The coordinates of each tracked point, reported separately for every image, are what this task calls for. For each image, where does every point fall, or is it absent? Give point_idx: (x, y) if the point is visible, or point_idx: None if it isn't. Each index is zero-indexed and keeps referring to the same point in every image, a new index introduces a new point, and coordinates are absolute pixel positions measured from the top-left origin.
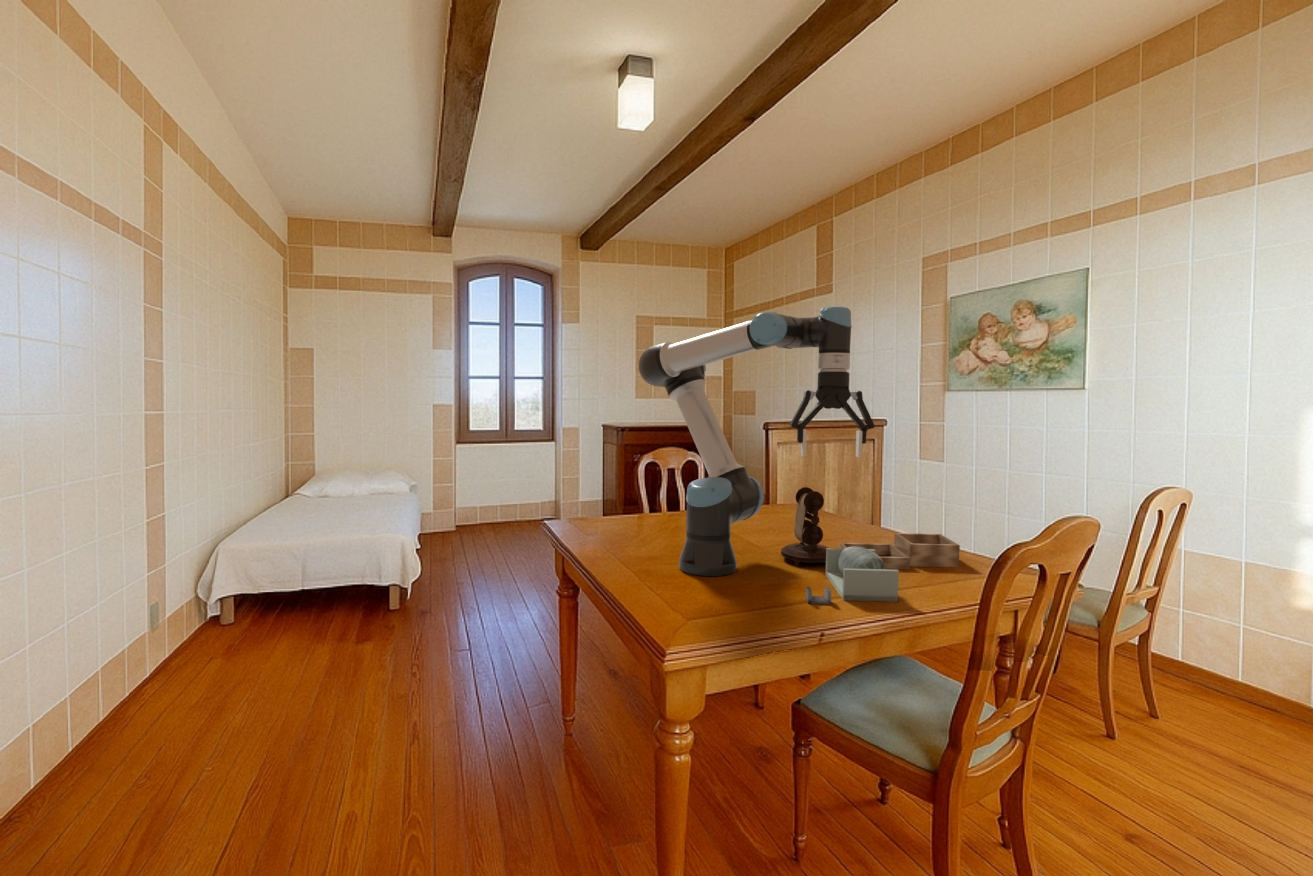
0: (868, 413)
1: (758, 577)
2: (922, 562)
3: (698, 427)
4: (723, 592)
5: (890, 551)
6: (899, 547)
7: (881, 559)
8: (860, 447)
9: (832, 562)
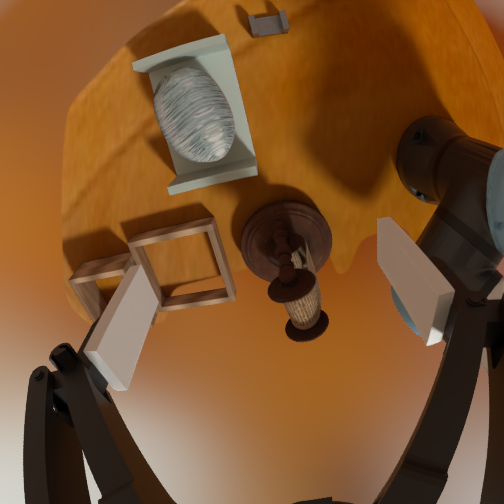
0: (25, 434)
1: (364, 124)
2: (117, 257)
3: None
4: (404, 48)
5: (161, 297)
6: None
7: (155, 101)
8: (119, 291)
9: (245, 162)
